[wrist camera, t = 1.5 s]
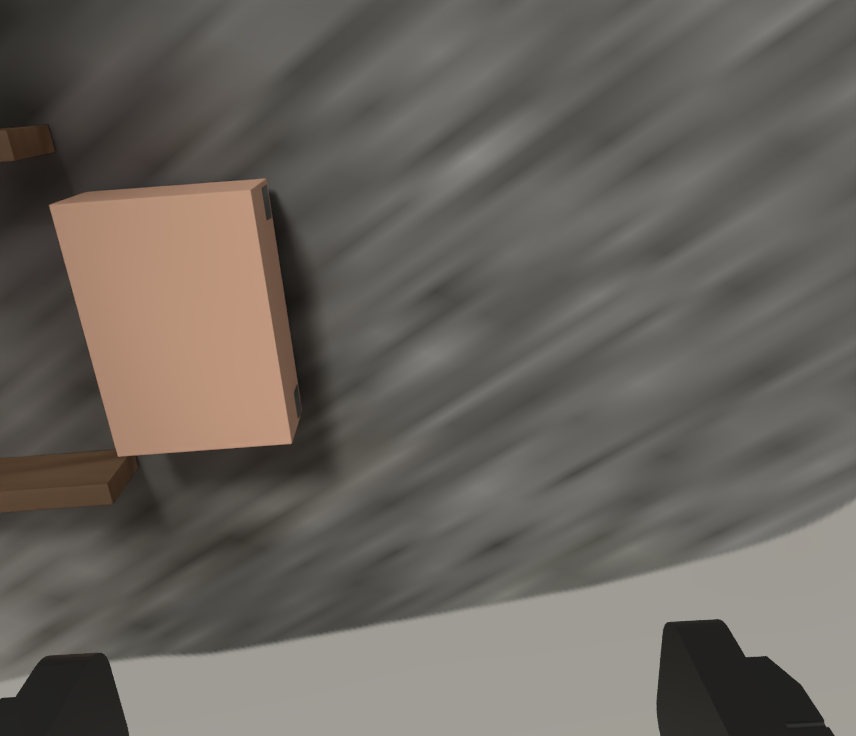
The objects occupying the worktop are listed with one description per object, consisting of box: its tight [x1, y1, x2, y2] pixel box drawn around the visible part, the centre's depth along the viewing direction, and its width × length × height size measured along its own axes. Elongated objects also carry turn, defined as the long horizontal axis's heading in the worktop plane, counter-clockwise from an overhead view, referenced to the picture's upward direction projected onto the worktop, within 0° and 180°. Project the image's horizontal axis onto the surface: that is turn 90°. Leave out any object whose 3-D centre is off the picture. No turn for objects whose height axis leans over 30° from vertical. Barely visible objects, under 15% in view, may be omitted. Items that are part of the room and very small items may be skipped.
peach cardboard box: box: [49, 178, 302, 457], centre depth 28 cm, size 10×7×4 cm
